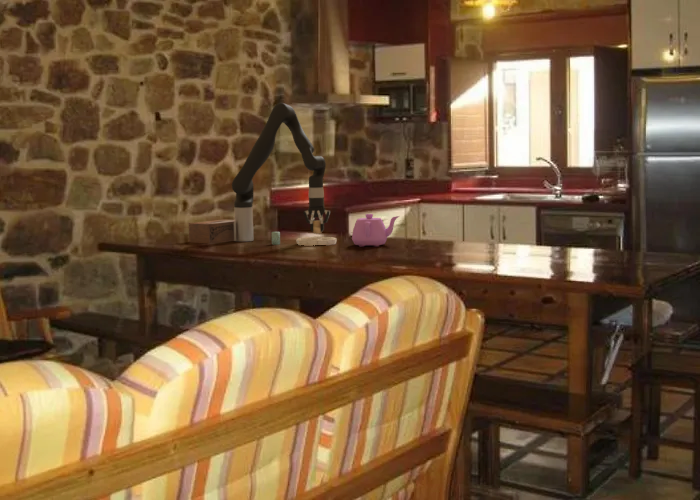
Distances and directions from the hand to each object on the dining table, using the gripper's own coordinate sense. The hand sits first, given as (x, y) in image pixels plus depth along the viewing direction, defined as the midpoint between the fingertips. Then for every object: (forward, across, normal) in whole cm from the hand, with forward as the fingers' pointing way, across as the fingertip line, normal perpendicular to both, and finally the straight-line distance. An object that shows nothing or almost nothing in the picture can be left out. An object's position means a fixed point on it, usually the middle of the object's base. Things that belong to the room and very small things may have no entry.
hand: (317, 231), depth 464 cm
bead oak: (+1, 0, 0) cm, 1 cm away
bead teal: (+6, +19, +7) cm, 21 cm away
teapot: (+6, -29, +12) cm, 32 cm away
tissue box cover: (+6, +55, -11) cm, 57 cm away
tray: (+6, -1, +5) cm, 8 cm away
